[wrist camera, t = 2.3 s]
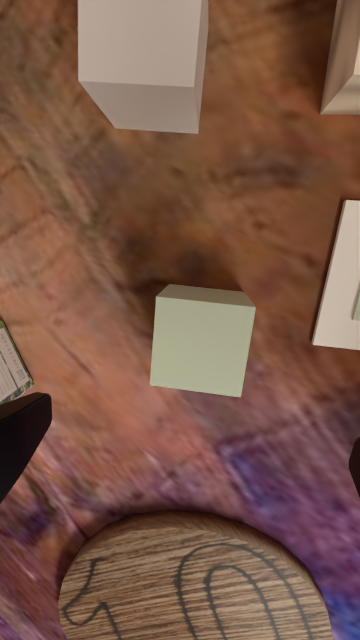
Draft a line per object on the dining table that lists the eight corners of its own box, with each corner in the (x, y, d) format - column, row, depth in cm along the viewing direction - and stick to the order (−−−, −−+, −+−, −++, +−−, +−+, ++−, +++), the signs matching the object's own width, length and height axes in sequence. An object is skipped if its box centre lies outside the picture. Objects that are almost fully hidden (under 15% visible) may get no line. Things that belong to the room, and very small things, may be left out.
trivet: (130, 698, 32) (125, 726, 30) (23, 538, 27) (9, 559, 25) (354, 675, 27) (365, 706, 25) (275, 476, 22) (281, 496, 20)
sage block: (232, 360, 20) (240, 397, 15) (164, 351, 20) (150, 385, 15) (243, 291, 18) (255, 307, 14) (169, 283, 19) (156, 296, 14)
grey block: (198, 134, 16) (193, 87, 12) (115, 128, 17) (78, 80, 12) (208, 29, 15) (208, -73, 10) (118, 26, 15) (77, -75, 11)
